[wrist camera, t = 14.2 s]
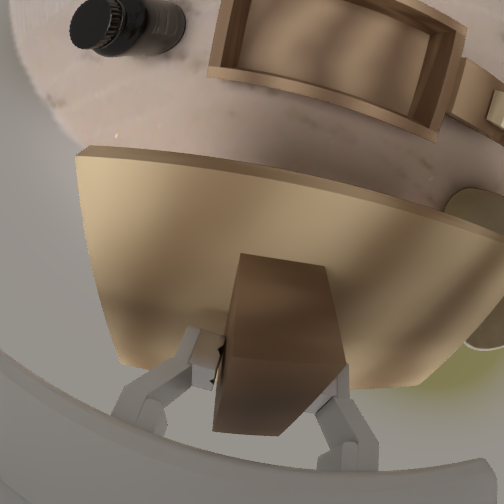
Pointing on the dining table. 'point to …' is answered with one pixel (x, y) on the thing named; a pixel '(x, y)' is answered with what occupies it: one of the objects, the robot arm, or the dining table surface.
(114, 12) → the supplement bottle
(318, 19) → the open wooden box
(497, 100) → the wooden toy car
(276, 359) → the lid
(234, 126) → the dining table surface
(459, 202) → the plant pot
